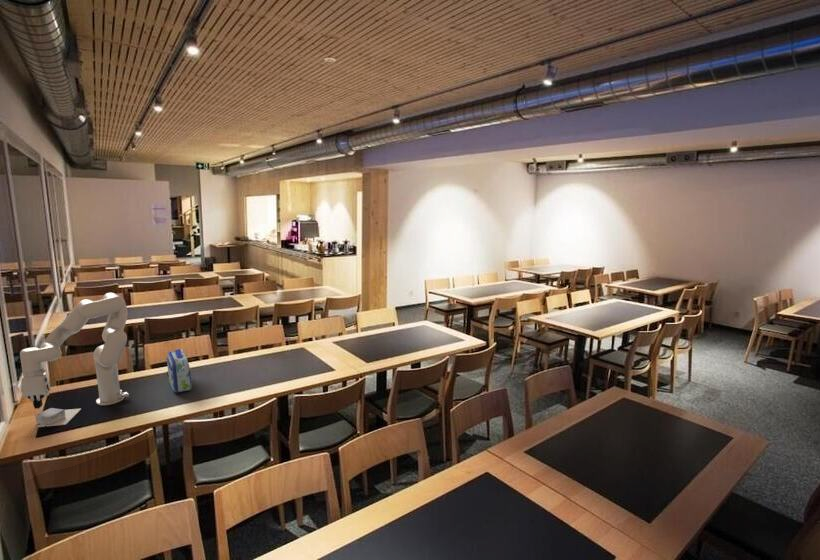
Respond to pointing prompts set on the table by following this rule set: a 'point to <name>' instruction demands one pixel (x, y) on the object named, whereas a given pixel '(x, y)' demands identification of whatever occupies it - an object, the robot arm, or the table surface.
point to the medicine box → (50, 416)
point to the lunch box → (178, 371)
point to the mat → (68, 416)
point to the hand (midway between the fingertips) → (38, 407)
